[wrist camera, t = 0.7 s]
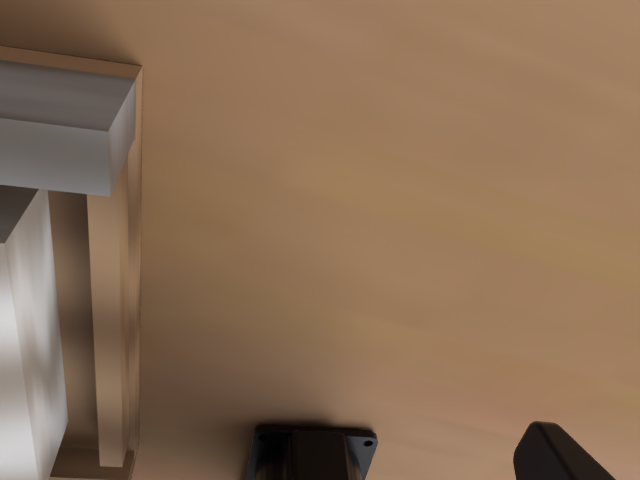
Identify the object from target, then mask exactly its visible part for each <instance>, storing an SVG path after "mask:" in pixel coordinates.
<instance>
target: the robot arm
mask: <svg viewBox="0 0 640 480" xmlns="http://www.w3.org/2000/svg"><path fill="white" fill-rule="evenodd" d="M377 443H378V441H377V435H376V434H375V433H374V432H371V431H359V430H342V429H325V428H307V427H290V426H273V425H260V426H257V427H256V428H255V429H254V432H253V437H252V443H251V449H250V455H249V460H248V466H247V472H246V478H245V480H365V478H366V475H367V472H368V469H369V466H370V464H371V461H372V458H373V455H374V452H375V450H376V447H377ZM513 463H514V469H515V475H516V480H616V479H615V478H614V477H613V476H611V475H610V474H609V473H608V472H607V471H606V470H605V469H604V468H603V467H602V466H601V465H600V464H599V463H598V462H597V461H596V460H595V459H594V458H593V457H592V456H591V455H590V454H588V453H587V452H586V451H585V450H584V449H583V448H582V447H581V446H580V445H579V444H578V443H577V442H576V441H575V440H574V439H573V438H572V437H571V436H570V435H569V434H568V433H566V432H565V431H564V430H563V429H562V428H561V427H560V426H559V425H557V424H555V423H551V422H540V421H535V422H533V423H531V424H530V425H529V426H528V428H527V430H526V432H525V433H524V435H523V437H522V439H521V440H520V442H519V444H518V446H517V447H516V449H515V452H514V458H513Z"/></svg>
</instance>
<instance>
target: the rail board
mask: <svg viewBox="0 0 640 480" xmlns="http://www.w3.org/2000/svg"><path fill="white" fill-rule="evenodd" d="M141 167H142V66H137V65H130V64H123V63H117V62H110V61H103V60H96V59H89V58H82V57H75V56H68V55H61V54H54V53H47V52H40V51H33V50H26V49H19V48H12V47H6V46H0V480H131V478H132V473H133V468H134V464H135V459H136V454H137V449H138V445H139V369H140V268H141Z"/></svg>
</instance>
